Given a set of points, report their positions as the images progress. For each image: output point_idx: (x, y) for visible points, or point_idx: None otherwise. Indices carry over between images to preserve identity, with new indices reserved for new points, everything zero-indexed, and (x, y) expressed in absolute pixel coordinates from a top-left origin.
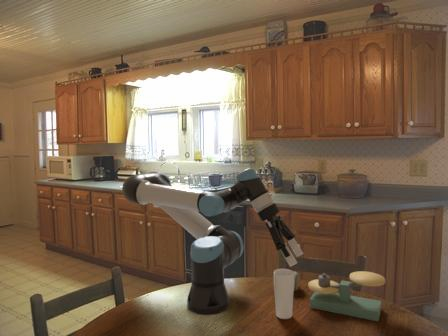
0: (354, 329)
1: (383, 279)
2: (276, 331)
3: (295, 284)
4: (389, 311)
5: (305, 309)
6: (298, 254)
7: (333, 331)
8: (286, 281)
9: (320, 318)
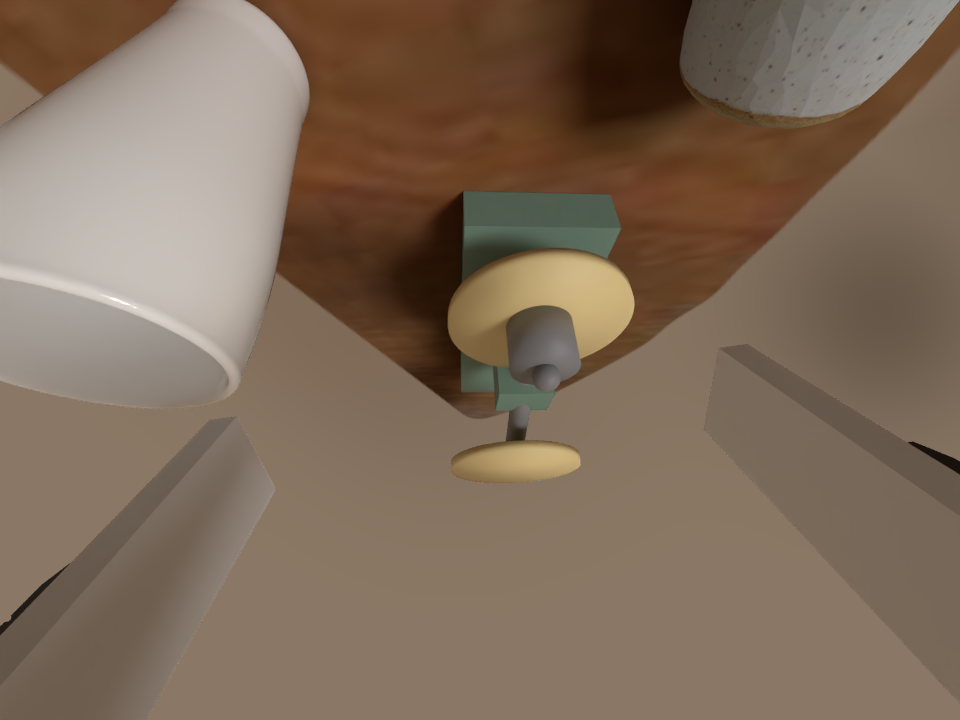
0: (375, 337)
1: (511, 481)
2: (25, 81)
3: (684, 83)
4: None
5: (429, 175)
6: (727, 395)
7: (313, 300)
8: (67, 338)
9: (378, 252)
